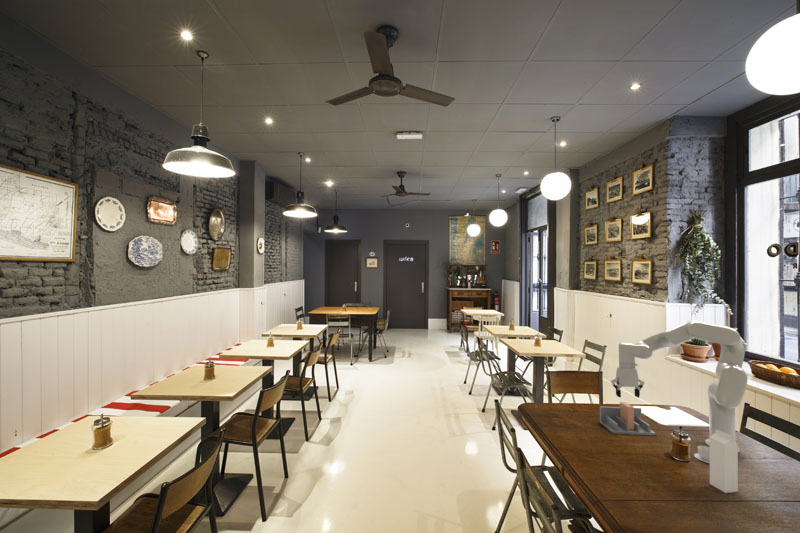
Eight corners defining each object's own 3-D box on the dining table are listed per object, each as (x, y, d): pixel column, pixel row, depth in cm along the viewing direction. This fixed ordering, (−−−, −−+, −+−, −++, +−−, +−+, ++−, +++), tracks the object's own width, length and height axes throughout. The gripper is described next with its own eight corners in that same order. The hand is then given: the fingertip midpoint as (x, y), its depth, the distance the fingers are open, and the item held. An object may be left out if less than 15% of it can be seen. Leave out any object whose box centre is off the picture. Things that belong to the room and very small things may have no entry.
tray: (630, 407, 227) (630, 405, 227) (675, 408, 226) (675, 406, 226) (661, 426, 199) (661, 423, 199) (712, 427, 198) (712, 425, 198)
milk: (721, 483, 144) (721, 428, 144) (738, 492, 138) (738, 435, 138) (709, 484, 143) (709, 429, 143) (725, 493, 137) (725, 435, 137)
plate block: (633, 429, 190) (633, 407, 190) (628, 429, 190) (628, 407, 190) (625, 423, 198) (625, 402, 198) (620, 423, 198) (620, 401, 198)
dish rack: (656, 435, 186) (656, 417, 186) (612, 433, 188) (612, 416, 188) (639, 424, 200) (639, 407, 200) (599, 422, 202) (599, 406, 202)
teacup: (728, 466, 156) (728, 456, 157) (702, 464, 158) (702, 453, 158) (713, 455, 166) (713, 445, 166) (689, 453, 168) (688, 443, 168)
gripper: (639, 364, 198) (640, 394, 197) (607, 363, 199) (607, 394, 198) (647, 367, 190) (648, 399, 190) (614, 367, 191) (615, 398, 191)
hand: (627, 396), depth 194 cm, fingers open, 9 cm apart
